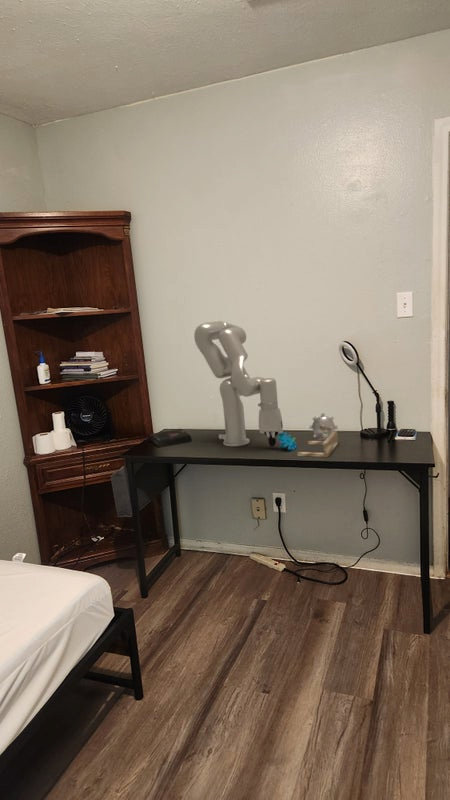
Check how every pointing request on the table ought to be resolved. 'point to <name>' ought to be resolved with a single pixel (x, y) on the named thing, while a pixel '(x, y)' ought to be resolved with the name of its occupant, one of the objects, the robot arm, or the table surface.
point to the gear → (323, 427)
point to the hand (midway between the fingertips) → (272, 445)
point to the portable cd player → (170, 438)
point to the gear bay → (327, 446)
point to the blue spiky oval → (287, 441)
